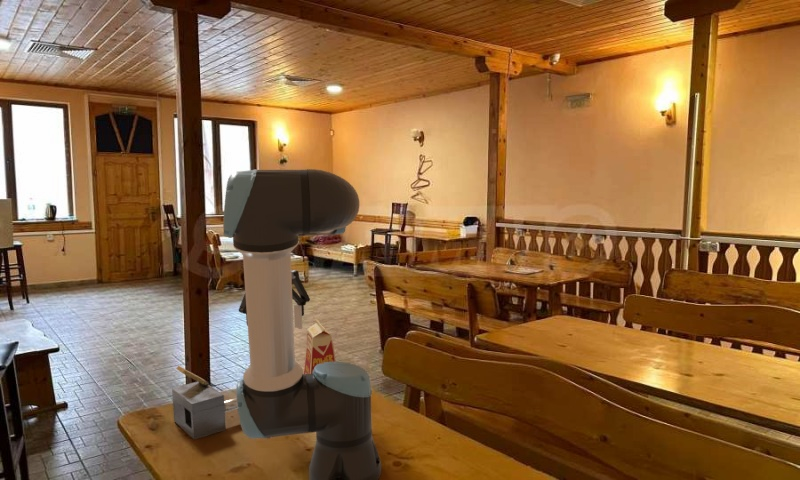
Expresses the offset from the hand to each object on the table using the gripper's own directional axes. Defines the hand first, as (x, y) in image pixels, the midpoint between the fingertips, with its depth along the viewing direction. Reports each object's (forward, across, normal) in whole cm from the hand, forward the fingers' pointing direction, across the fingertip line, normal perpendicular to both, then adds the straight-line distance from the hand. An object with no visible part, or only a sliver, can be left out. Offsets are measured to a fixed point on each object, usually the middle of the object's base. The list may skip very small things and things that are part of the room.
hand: (277, 332), depth 150 cm
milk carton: (+21, -17, -5) cm, 27 cm away
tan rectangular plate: (+9, +21, -8) cm, 24 cm away
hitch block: (+21, +21, -4) cm, 30 cm away
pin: (+19, +12, 0) cm, 22 cm away
